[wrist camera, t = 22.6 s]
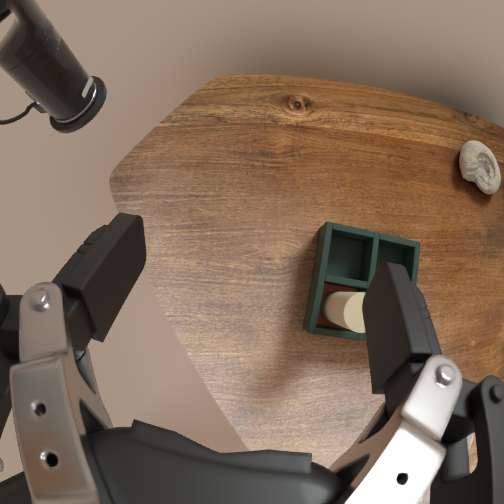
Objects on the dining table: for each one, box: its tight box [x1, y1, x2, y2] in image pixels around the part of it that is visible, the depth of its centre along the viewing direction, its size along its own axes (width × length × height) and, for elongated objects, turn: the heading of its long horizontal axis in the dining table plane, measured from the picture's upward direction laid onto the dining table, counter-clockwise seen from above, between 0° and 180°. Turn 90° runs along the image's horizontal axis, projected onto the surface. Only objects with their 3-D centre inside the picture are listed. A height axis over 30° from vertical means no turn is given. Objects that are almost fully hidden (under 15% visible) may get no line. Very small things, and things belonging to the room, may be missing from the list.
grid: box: [303, 222, 420, 340], centre depth 36 cm, size 13×13×4 cm
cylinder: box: [321, 292, 366, 333], centre depth 32 cm, size 4×4×10 cm
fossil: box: [459, 141, 501, 194], centre depth 38 cm, size 11×4×10 cm
